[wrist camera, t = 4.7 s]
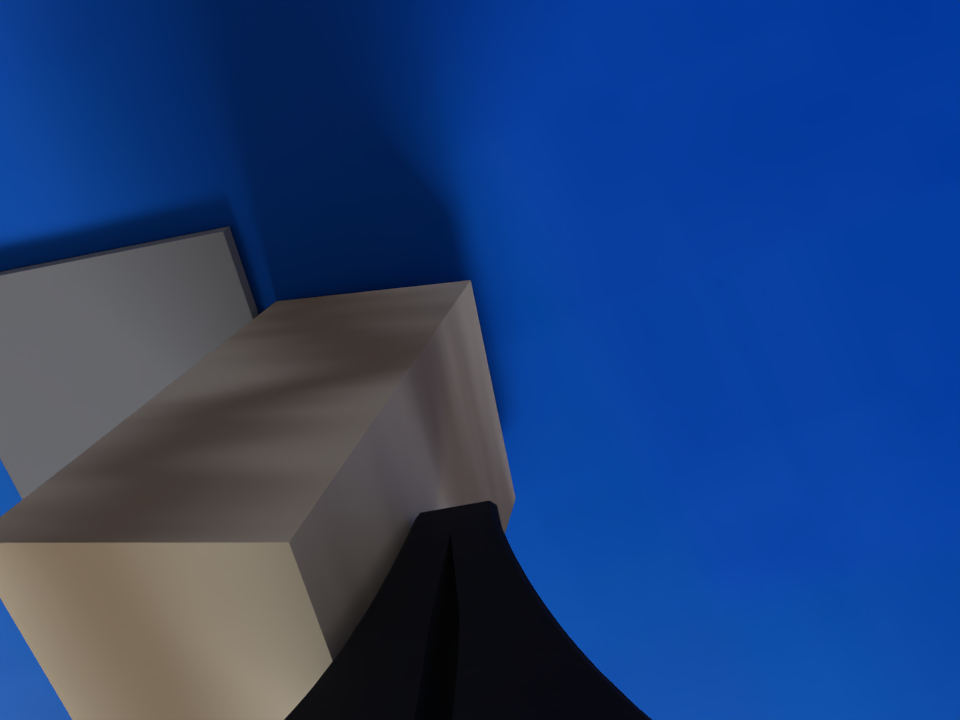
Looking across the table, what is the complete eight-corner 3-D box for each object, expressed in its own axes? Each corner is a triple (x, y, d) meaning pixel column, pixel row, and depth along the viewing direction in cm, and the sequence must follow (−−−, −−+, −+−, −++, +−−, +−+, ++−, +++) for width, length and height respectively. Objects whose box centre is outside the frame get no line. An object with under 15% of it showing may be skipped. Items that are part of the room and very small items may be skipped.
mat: (229, 226, 17) (223, 231, 17) (341, 562, 21) (339, 573, 21) (-75, 286, 17) (-89, 293, 17) (93, 605, 21) (85, 617, 21)
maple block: (470, 280, 16) (289, 542, 9) (515, 498, 19) (405, 859, 11) (276, 301, 18) (-33, 543, 10) (341, 501, 20) (133, 822, 12)
